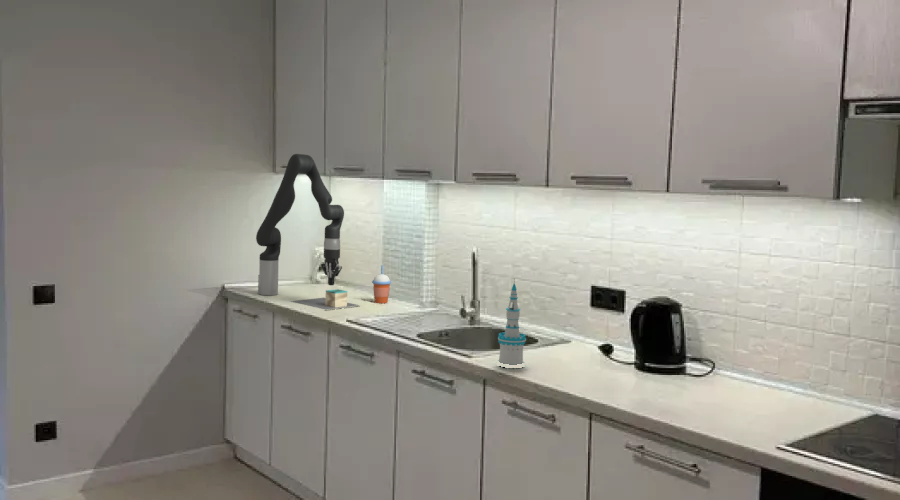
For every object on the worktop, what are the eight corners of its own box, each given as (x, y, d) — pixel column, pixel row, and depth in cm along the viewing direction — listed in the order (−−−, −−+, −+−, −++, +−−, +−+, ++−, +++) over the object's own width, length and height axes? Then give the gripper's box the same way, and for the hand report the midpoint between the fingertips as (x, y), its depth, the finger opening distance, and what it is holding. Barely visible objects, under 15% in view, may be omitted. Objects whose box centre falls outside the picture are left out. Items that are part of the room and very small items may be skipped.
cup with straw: (382, 304, 409) (383, 267, 407) (367, 302, 414) (368, 265, 412) (394, 302, 416) (395, 265, 414) (379, 300, 421) (380, 263, 419)
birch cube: (335, 292, 392) (335, 307, 392) (347, 291, 397) (346, 306, 398) (325, 290, 397) (325, 305, 397) (337, 289, 402) (337, 304, 402)
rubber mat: (289, 302, 405) (289, 301, 405) (323, 298, 420) (323, 297, 420) (325, 310, 387) (325, 309, 387) (359, 306, 401) (359, 305, 401)
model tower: (508, 370, 287) (511, 280, 284) (490, 363, 295) (493, 276, 292) (531, 367, 293) (535, 279, 290) (513, 360, 301) (516, 275, 298)
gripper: (316, 247, 399) (315, 284, 401) (334, 249, 390) (333, 287, 392) (329, 246, 405) (328, 282, 406) (347, 248, 396) (346, 286, 397)
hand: (331, 285), depth 399 cm, fingers closed
